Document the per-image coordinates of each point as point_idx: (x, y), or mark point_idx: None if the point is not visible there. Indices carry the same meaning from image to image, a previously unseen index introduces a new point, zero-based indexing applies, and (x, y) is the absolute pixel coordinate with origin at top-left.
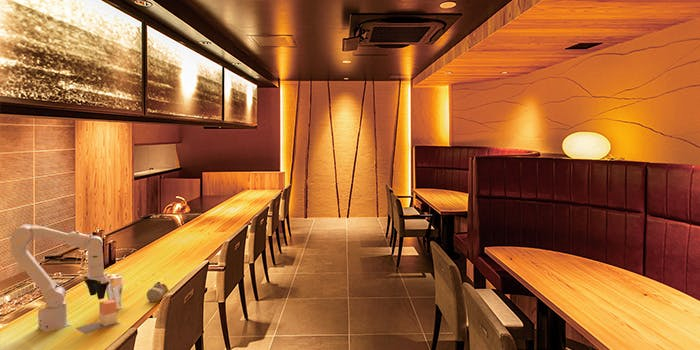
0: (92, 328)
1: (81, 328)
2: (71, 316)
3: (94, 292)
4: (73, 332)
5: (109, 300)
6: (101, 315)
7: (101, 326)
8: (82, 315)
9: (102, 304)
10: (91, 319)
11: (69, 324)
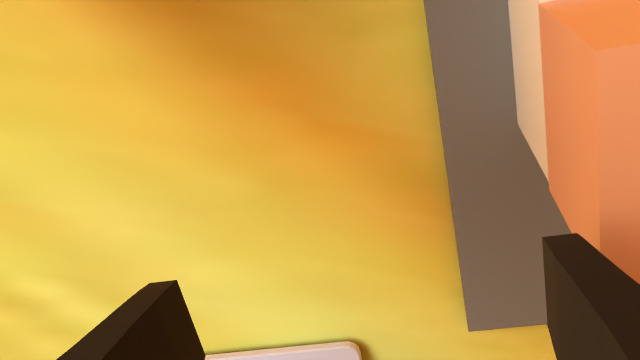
0: None
1: (522, 296)
2: (70, 281)
3: (170, 339)
4: (545, 352)
5: (629, 110)
6: None
7: None
8: (87, 200)
9: None
10: (272, 157)
11: (341, 353)
